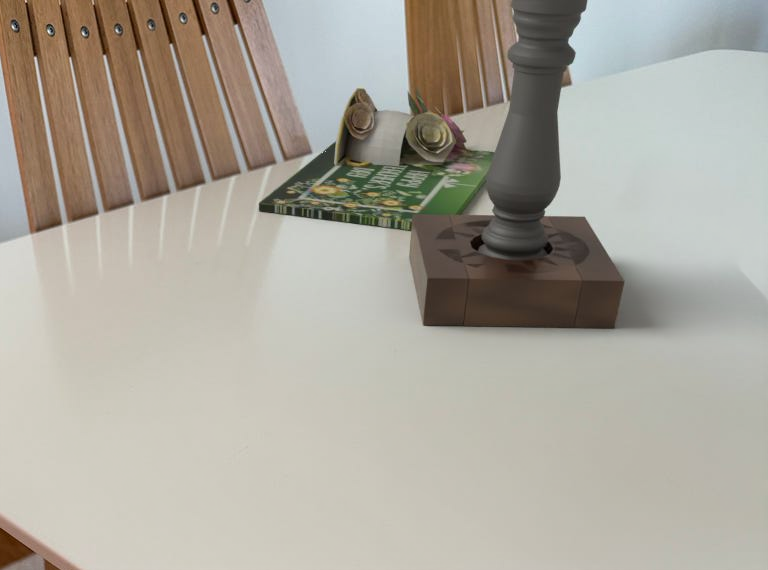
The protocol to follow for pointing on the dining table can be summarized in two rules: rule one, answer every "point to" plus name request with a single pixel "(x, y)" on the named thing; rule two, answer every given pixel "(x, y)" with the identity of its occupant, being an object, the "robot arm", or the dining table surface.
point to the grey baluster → (530, 130)
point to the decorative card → (385, 169)
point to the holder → (512, 276)
